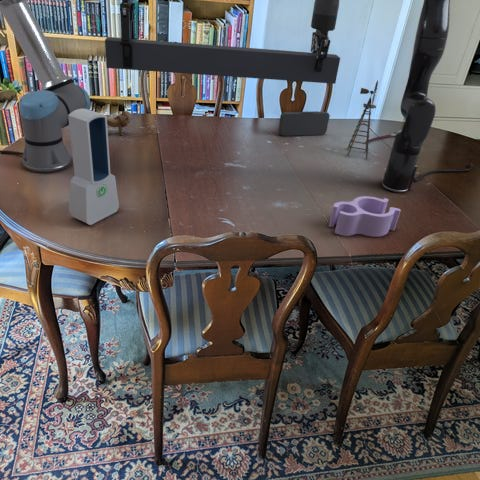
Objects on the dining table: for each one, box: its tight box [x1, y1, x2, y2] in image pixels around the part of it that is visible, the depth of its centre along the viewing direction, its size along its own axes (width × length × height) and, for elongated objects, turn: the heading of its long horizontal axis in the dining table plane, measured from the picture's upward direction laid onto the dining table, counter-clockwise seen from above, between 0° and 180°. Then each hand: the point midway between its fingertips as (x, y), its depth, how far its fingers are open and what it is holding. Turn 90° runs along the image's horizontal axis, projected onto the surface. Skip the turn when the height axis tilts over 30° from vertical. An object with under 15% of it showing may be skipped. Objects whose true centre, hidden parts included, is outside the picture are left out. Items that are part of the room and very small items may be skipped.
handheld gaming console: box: [278, 110, 331, 137], centre depth 205 cm, size 23×3×10 cm, turn 108°
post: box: [104, 36, 341, 85], centre depth 148 cm, size 73×5×8 cm, turn 95°
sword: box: [368, 132, 397, 143], centre depth 214 cm, size 31×3×1 cm, turn 126°
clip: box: [328, 195, 401, 238], centre depth 141 cm, size 20×12×7 cm, turn 109°
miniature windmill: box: [346, 80, 379, 160], centre depth 186 cm, size 9×8×30 cm
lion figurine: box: [107, 110, 132, 136], centre depth 186 cm, size 15×5×9 cm, turn 110°
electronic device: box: [68, 109, 120, 226], centre depth 127 cm, size 12×8×30 cm, turn 148°
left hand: (129, 65), depth 146 cm, fingers closed on post, 5 cm apart
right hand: (315, 69), depth 152 cm, fingers closed on post, 5 cm apart
